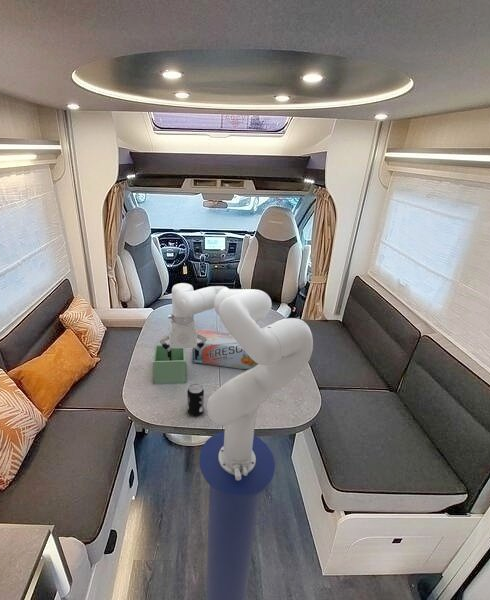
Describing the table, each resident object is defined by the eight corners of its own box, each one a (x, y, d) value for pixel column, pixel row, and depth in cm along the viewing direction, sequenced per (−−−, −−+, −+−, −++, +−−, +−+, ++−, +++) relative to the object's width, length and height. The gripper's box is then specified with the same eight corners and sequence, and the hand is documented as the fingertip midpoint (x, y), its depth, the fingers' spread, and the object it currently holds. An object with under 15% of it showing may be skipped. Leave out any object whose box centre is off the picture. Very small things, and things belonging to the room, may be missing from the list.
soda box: (191, 363, 159) (191, 341, 154) (196, 349, 172) (197, 328, 167) (272, 373, 153) (275, 351, 148) (272, 358, 166) (274, 336, 161)
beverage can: (196, 420, 124) (196, 396, 119) (184, 412, 128) (183, 388, 123) (206, 410, 129) (207, 387, 124) (194, 403, 132) (194, 380, 128)
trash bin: (185, 382, 145) (185, 361, 141) (153, 383, 144) (152, 362, 140) (185, 364, 159) (184, 344, 154) (156, 365, 158) (155, 345, 153)
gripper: (158, 323, 107) (159, 364, 114) (208, 321, 109) (207, 363, 116) (159, 313, 114) (160, 353, 121) (206, 312, 116) (205, 352, 122)
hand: (183, 358), depth 118 cm, fingers open, 9 cm apart
